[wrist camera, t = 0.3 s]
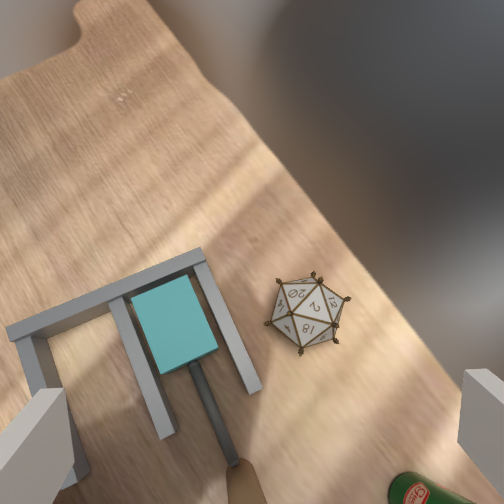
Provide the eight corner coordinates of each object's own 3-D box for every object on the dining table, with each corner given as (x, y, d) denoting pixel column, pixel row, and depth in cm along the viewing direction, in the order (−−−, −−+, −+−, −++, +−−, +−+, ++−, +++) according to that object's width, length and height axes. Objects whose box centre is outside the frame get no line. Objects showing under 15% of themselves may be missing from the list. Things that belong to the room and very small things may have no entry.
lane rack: (259, 386, 44) (264, 388, 39) (76, 478, 40) (57, 493, 35) (201, 259, 48) (200, 246, 43) (28, 331, 44) (5, 327, 39)
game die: (282, 330, 50) (239, 339, 41) (299, 264, 49) (259, 259, 41) (350, 357, 45) (317, 374, 37) (370, 285, 45) (342, 285, 36)
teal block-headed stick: (272, 474, 42) (298, 524, 28) (219, 503, 40) (221, 569, 27) (190, 286, 47) (180, 252, 33) (141, 307, 45) (110, 281, 32)
